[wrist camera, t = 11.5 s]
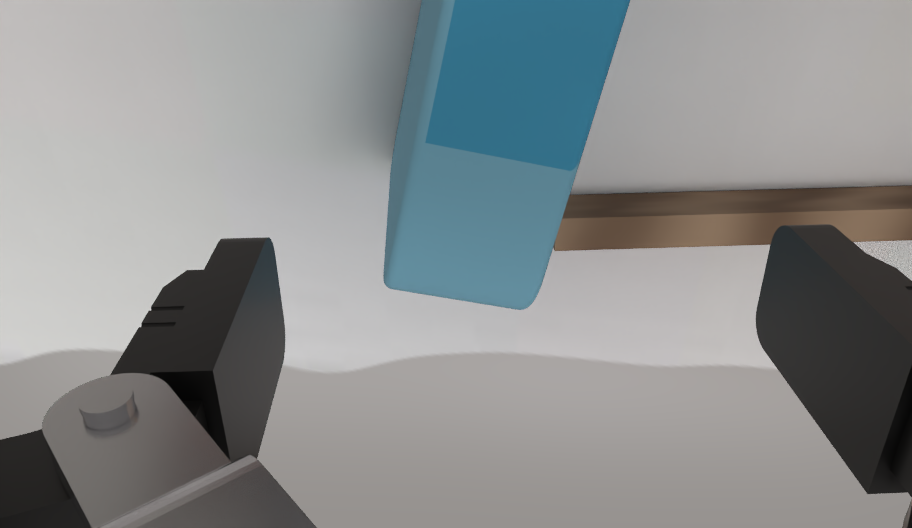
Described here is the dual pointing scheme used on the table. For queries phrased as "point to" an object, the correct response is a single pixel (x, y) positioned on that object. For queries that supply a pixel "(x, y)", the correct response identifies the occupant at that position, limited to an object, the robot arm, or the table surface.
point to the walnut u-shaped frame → (730, 217)
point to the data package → (492, 142)
